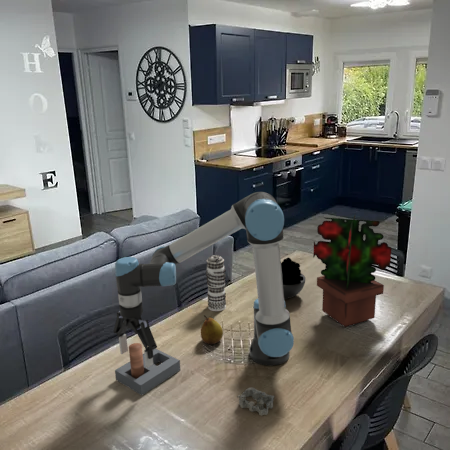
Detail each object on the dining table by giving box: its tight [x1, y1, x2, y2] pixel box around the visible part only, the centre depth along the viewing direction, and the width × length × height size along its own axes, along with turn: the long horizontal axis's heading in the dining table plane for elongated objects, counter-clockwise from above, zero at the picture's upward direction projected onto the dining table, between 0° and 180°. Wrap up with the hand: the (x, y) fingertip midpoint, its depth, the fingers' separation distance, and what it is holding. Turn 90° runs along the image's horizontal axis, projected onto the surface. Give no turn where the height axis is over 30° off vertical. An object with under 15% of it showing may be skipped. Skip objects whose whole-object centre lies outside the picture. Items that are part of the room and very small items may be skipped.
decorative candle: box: [205, 254, 227, 312], centre depth 209 cm, size 9×9×25 cm
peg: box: [128, 342, 144, 379], centre depth 158 cm, size 4×4×14 cm
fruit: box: [200, 315, 224, 346], centre depth 183 cm, size 9×9×12 cm
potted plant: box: [312, 214, 392, 328], centre depth 193 cm, size 22×22×45 cm
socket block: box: [114, 348, 181, 396], centre depth 163 cm, size 14×18×4 cm
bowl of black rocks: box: [281, 257, 306, 299], centre depth 219 cm, size 20×20×19 cm
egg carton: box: [236, 387, 275, 416], centre depth 146 cm, size 11×8×4 cm
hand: (136, 358), depth 157 cm, fingers open, 13 cm apart
